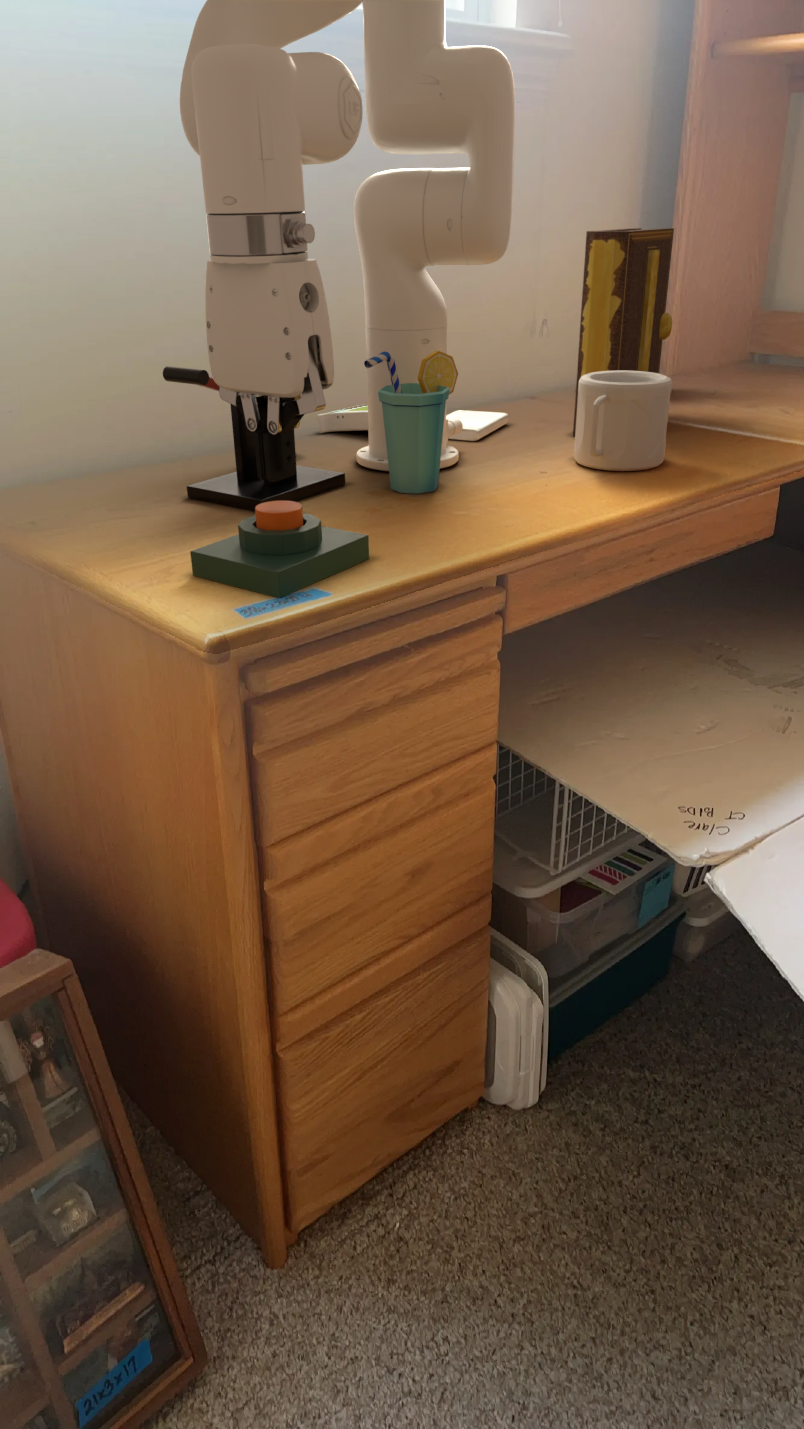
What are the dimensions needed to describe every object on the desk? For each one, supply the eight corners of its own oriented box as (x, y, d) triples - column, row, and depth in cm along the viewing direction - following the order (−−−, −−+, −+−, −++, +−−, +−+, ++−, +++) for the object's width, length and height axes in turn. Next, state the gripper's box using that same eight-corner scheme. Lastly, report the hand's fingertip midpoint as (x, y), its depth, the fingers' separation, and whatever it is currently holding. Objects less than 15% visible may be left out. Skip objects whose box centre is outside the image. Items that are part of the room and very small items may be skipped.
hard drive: (455, 409, 144) (421, 424, 134) (508, 412, 141) (478, 428, 131) (455, 421, 145) (421, 436, 135) (508, 424, 142) (477, 441, 132)
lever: (196, 388, 94) (200, 362, 94) (160, 384, 97) (164, 359, 96) (285, 414, 105) (288, 391, 105) (251, 409, 108) (254, 387, 107)
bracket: (262, 512, 102) (252, 394, 96) (187, 497, 107) (174, 385, 102) (345, 484, 112) (341, 375, 106) (273, 471, 118) (266, 368, 112)
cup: (399, 508, 102) (397, 356, 96) (342, 497, 107) (336, 351, 100) (473, 481, 112) (476, 341, 105) (418, 472, 116) (418, 337, 110)
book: (621, 441, 130) (639, 231, 119) (560, 435, 134) (572, 231, 123) (667, 413, 147) (687, 227, 136) (612, 409, 151) (627, 227, 140)
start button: (278, 517, 87) (276, 497, 86) (312, 524, 85) (311, 504, 84) (246, 528, 84) (245, 508, 83) (282, 535, 82) (280, 515, 81)
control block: (285, 540, 93) (282, 498, 91) (369, 558, 88) (368, 514, 86) (192, 575, 84) (187, 530, 83) (280, 598, 79) (276, 550, 77)
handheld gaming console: (400, 409, 128) (315, 412, 137) (403, 431, 129) (318, 433, 138) (449, 397, 136) (365, 401, 145) (451, 418, 137) (368, 421, 146)
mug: (596, 448, 126) (602, 367, 122) (676, 458, 121) (686, 373, 116) (547, 470, 117) (552, 382, 112) (633, 481, 111) (641, 389, 107)
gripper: (365, 238, 74) (373, 479, 83) (222, 235, 82) (243, 456, 91) (300, 244, 69) (316, 501, 78) (154, 241, 77) (184, 475, 85)
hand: (277, 476), depth 84 cm, fingers closed
